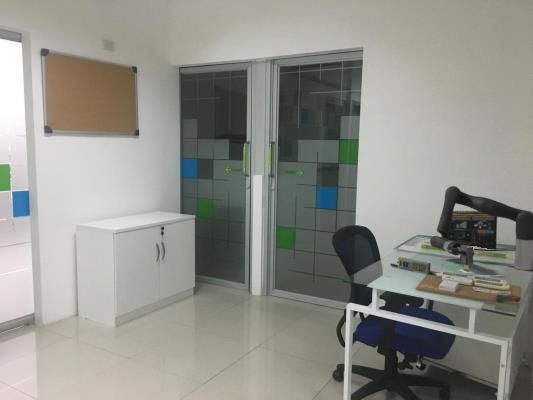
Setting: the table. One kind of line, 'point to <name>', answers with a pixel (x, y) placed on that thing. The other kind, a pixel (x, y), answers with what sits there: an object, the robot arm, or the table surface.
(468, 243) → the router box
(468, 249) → the block
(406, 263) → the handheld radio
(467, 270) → the pale green flat block
